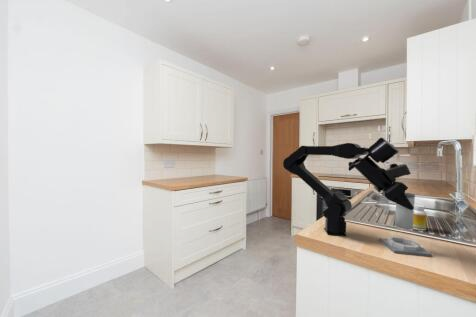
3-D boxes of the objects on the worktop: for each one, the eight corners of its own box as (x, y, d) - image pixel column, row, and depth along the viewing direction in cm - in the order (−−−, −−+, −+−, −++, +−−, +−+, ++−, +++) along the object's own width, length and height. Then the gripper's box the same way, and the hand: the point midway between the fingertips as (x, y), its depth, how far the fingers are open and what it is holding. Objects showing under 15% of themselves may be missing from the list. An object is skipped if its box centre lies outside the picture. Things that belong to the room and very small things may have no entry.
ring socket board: (394, 252, 64) (394, 246, 64) (378, 239, 74) (379, 234, 74) (431, 256, 62) (431, 250, 62) (410, 242, 72) (411, 237, 72)
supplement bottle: (429, 231, 84) (430, 207, 84) (414, 230, 85) (415, 206, 85) (420, 226, 89) (421, 204, 89) (406, 225, 90) (407, 203, 90)
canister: (399, 228, 67) (401, 194, 66) (391, 223, 71) (393, 191, 71) (416, 230, 66) (418, 195, 65) (407, 225, 70) (409, 192, 70)
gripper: (400, 155, 61) (448, 197, 57) (385, 155, 78) (422, 187, 74) (368, 180, 64) (411, 221, 60) (360, 175, 81) (393, 206, 77)
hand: (410, 207), depth 68 cm, fingers closed on canister, 5 cm apart
